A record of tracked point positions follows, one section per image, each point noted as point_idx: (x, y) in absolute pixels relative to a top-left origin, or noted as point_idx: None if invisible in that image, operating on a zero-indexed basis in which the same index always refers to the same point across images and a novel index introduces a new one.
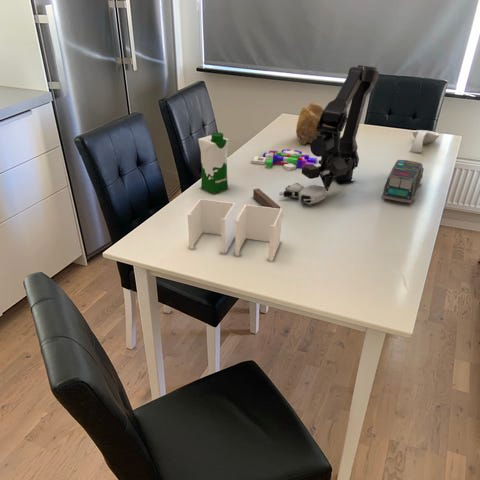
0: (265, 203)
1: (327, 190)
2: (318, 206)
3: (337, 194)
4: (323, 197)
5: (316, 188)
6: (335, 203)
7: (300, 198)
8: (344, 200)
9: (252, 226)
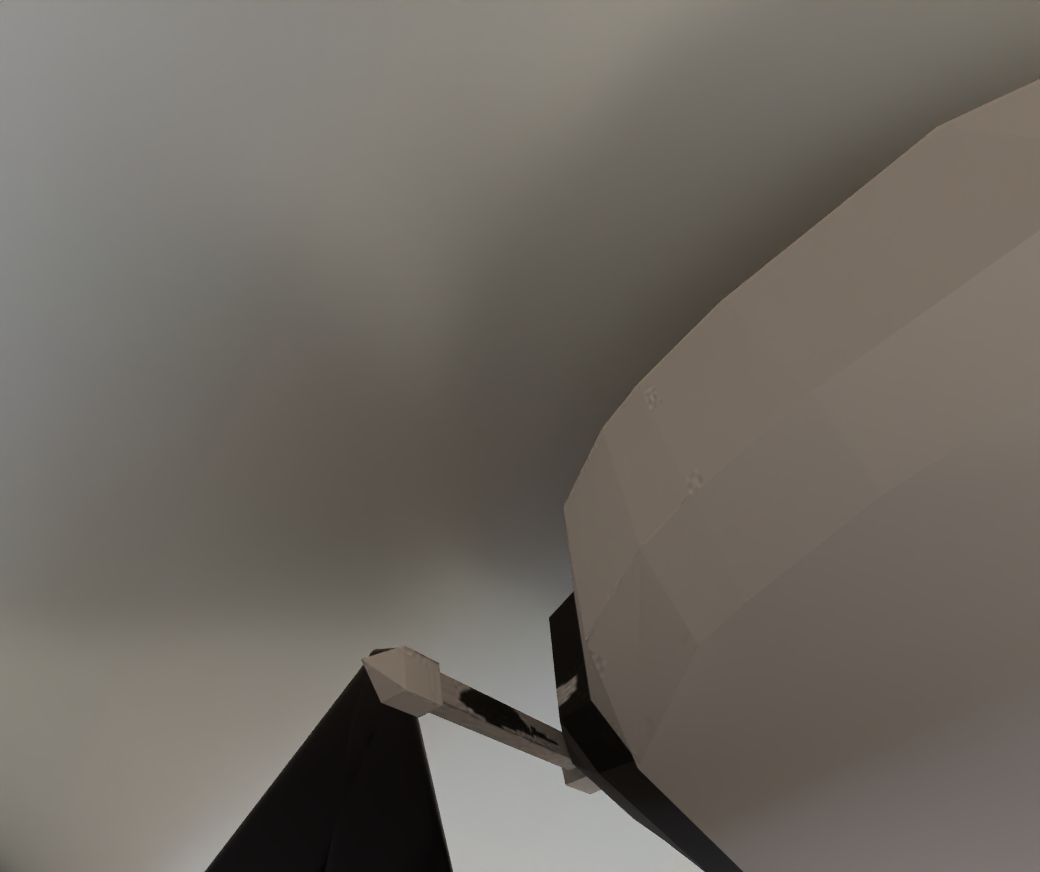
0: None
1: None
2: (1024, 56)
3: (132, 540)
4: (1000, 119)
5: (1012, 721)
6: (391, 60)
7: None
8: (28, 164)
9: None
